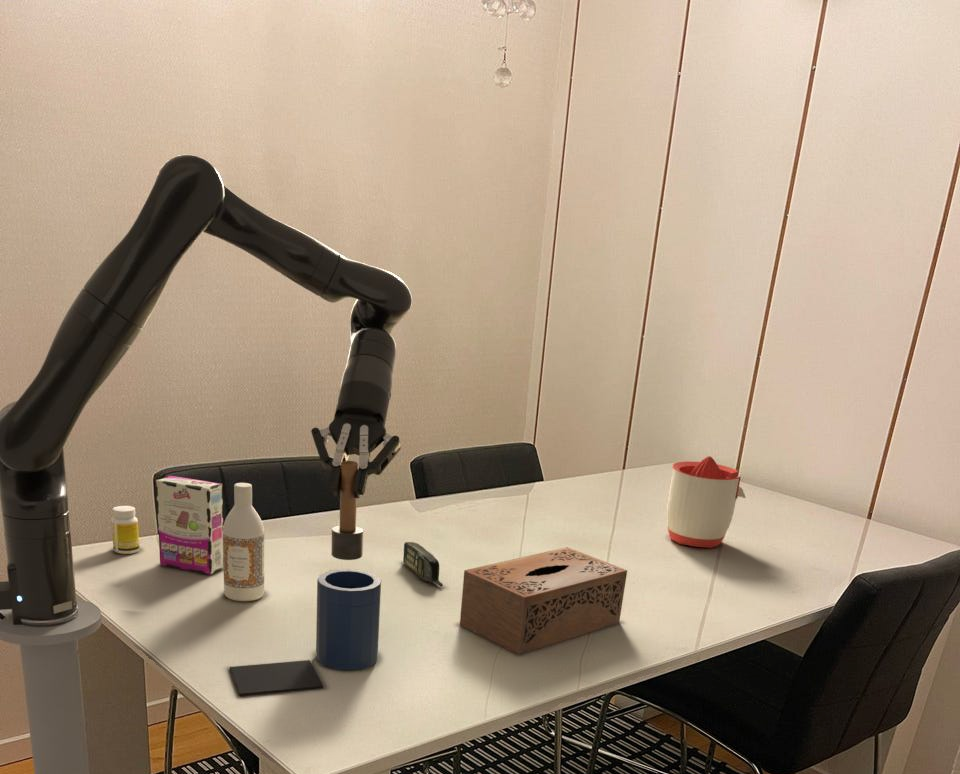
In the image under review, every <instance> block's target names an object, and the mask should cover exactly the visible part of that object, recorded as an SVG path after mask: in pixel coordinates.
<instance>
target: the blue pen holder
mask: <svg viewBox="0 0 960 774" xmlns="http://www.w3.org/2000/svg"><path fill="white" fill-rule="evenodd" d="M316 582H317V585H316V627H315V629H316V633H315V635H316V636H315V637H316V638H315V652H316V654H315V655H316V656H315V657H316V660H317V662H318V663H319V664H320V665H322V666H324V667H326V668H328V669H331V670H337V671H346V672H348V671H351V672H352V671H361V670H365V669H367V668H370V667H372V666H373V665H375V664H376V662H377V661H378V652H379V637H380V617H381V616H380V615H381V596H382V594H381V593H382V592H381V591H382V579H381V578H380V576H378V575H376V574H374V573H372V572H369V571H365V570H360V569H351V568H342V569H340V568H339V569H333V570H328V571H325V572H323V573H321V574H319V575H318V577H317V580H316Z"/></svg>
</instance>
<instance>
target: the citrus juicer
mask: <svg viewBox="0 0 960 774" xmlns="http://www.w3.org/2000/svg"><path fill="white" fill-rule="evenodd" d="M740 483H741V476H739V470H737V469H735V468H732V467H729V466H726V465H722V464H719V463H718V464H717V462H716V461H715V459H714V458H713V457H712V456H706V457H705V458H703V459H702V460H701V461H677V462H675V463H673V464H672V474H671V480H670V486H669V492H668V497H667V498H668V499H667V506H666V522H667V523H666V524H667V532H668V534H669V538H670V539H671V540H672V541H674V542H676V544H678V545H686V546H690V547H695V548H696V547H697V548H706V549H713V548H714V547H717V546H719V545H720V544H721V542H723V540H724V538H725V536H726V534H727V531H728V530H729V528H730V525H731V523H732V520H733V516H734V512H735V508H736V502H737V499H738V498H742V499H746V498H747V497H746V494H745V492H744V489H743V488H742V487H741V486H740Z"/></svg>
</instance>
